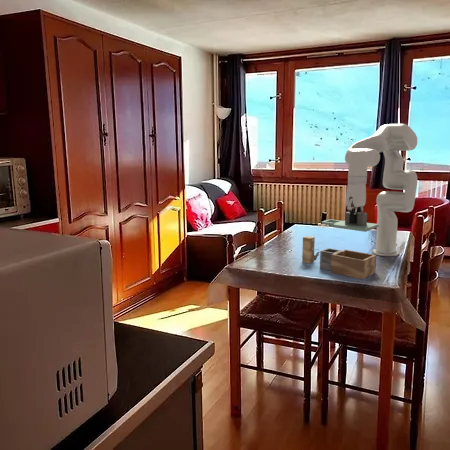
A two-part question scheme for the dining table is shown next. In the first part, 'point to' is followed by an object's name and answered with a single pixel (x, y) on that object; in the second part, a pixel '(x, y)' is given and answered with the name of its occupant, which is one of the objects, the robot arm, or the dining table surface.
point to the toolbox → (348, 262)
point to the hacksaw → (316, 254)
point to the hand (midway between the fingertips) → (355, 222)
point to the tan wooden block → (308, 249)
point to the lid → (360, 225)
